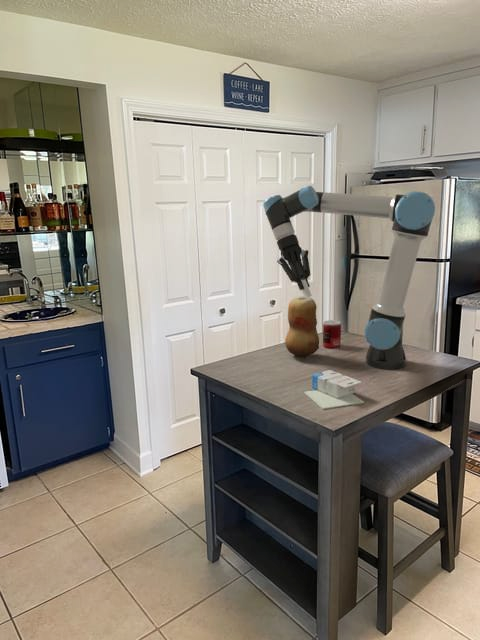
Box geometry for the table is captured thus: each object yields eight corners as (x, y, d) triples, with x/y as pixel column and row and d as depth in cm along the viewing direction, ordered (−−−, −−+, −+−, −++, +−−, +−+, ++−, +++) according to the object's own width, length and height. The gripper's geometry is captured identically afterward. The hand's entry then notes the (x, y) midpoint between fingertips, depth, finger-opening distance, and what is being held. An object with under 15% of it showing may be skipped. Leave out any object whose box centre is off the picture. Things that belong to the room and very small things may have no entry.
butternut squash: (283, 360, 188) (282, 300, 182) (287, 351, 200) (287, 294, 195) (317, 362, 184) (318, 300, 179) (320, 352, 197) (320, 294, 191)
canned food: (342, 344, 208) (342, 320, 205) (338, 349, 201) (338, 325, 198) (325, 343, 211) (325, 319, 208) (320, 348, 204) (321, 323, 201)
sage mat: (342, 387, 158) (342, 386, 158) (364, 403, 145) (364, 402, 145) (304, 392, 154) (304, 391, 154) (322, 409, 141) (322, 408, 141)
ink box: (311, 388, 157) (343, 402, 145) (311, 374, 156) (344, 387, 144) (330, 382, 162) (362, 395, 150) (330, 369, 160) (363, 381, 148)
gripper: (295, 236, 177) (317, 294, 177) (266, 244, 172) (288, 304, 172) (305, 229, 170) (327, 289, 170) (275, 238, 165) (298, 300, 165)
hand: (308, 297), depth 171 cm, fingers closed
